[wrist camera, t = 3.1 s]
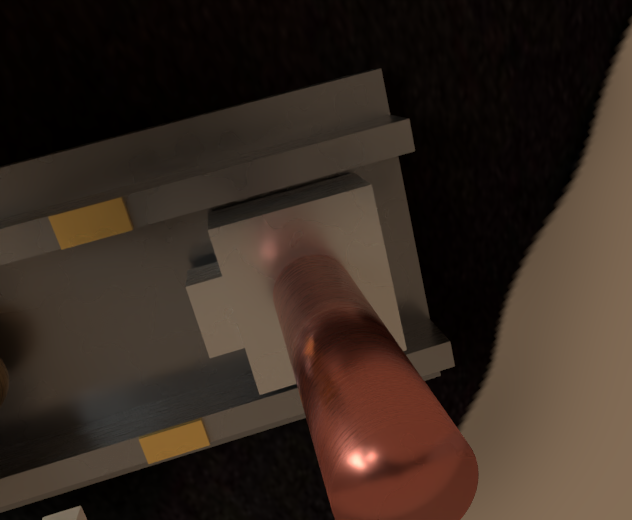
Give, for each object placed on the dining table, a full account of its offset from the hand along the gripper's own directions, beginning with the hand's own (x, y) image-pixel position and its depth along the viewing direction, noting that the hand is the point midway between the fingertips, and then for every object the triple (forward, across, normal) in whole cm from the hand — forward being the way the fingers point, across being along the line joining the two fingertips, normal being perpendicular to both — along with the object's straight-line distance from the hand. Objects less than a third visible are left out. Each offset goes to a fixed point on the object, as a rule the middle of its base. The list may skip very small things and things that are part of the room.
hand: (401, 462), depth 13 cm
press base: (+14, -7, 0) cm, 16 cm away
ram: (+13, -1, 0) cm, 13 cm away
